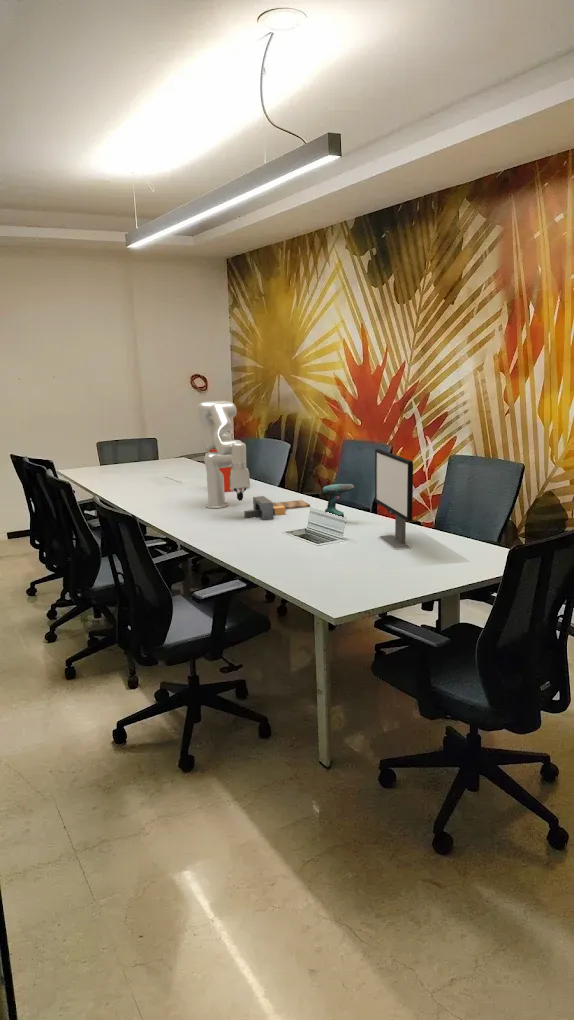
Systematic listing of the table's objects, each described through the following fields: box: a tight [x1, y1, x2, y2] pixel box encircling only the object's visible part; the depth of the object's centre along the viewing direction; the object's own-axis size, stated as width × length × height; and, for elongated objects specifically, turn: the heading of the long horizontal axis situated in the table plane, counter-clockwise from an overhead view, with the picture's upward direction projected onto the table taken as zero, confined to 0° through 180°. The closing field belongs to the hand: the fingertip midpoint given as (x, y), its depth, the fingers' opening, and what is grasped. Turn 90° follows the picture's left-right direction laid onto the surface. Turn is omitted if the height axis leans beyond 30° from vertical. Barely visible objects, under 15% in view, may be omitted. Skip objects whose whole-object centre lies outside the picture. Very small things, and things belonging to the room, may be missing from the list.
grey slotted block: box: [252, 495, 274, 521], centre depth 351 cm, size 6×18×9 cm, turn 18°
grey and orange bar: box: [243, 506, 288, 519], centre depth 352 cm, size 23×4×4 cm, turn 110°
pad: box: [273, 499, 311, 510], centre depth 372 cm, size 26×14×1 cm, turn 108°
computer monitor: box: [374, 448, 414, 551], centre depth 290 cm, size 41×8×40 cm, turn 12°
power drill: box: [322, 483, 355, 518], centre depth 332 cm, size 7×16×20 cm, turn 70°
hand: (240, 500), depth 347 cm, fingers closed
